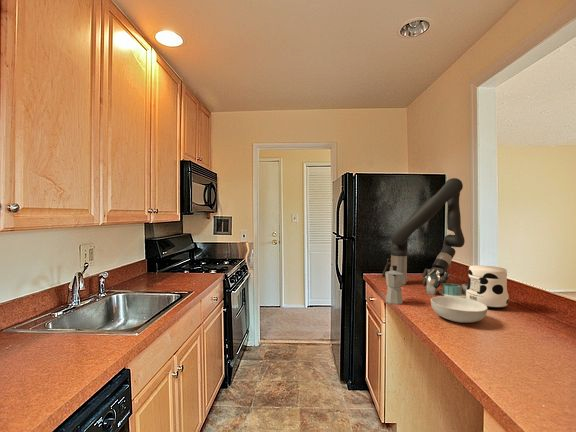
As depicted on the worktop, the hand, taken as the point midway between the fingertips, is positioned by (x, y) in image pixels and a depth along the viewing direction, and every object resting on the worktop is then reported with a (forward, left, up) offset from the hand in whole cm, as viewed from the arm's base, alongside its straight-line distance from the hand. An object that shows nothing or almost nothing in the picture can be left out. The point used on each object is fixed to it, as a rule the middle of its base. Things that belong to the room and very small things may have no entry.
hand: (429, 286), depth 171 cm
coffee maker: (-24, -15, -4) cm, 28 cm away
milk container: (+19, -19, -5) cm, 27 cm away
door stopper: (-9, +45, -5) cm, 46 cm away
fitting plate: (+15, -3, -4) cm, 16 cm away
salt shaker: (+1, +1, -4) cm, 5 cm away
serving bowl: (-5, -39, -5) cm, 40 cm away
